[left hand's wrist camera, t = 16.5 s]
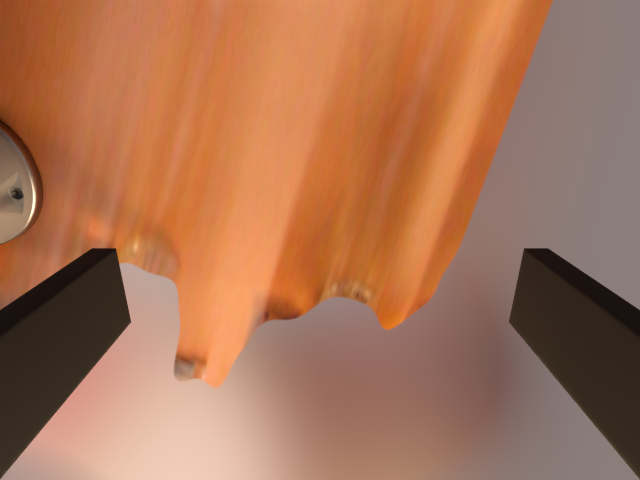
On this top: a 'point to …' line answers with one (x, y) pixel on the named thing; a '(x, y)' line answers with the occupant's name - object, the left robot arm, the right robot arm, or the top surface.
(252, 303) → the top surface
